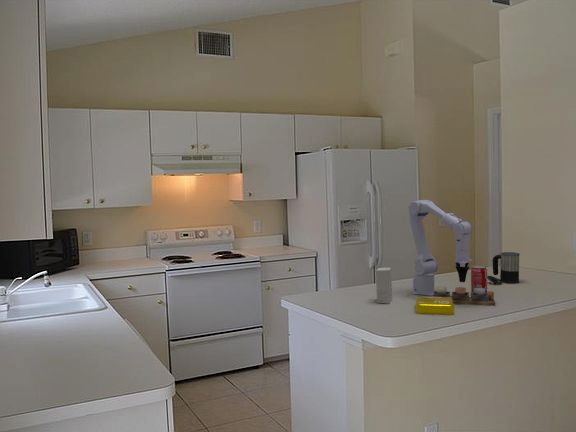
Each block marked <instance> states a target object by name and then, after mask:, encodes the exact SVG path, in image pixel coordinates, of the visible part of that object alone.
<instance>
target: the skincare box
mask: <svg viewBox="0 0 576 432" xmlns="http://www.w3.org/2000/svg"><path fill="white" fill-rule="evenodd" d="M375 278H376V281H375V282H376V303H378V304H387V305H389V304H391V301H392V300H393V289H392V288H393V284H392V282H393V281H392V268H391V267H378V268H377V269H376V270H375Z"/></svg>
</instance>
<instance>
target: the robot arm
mask: <svg viewBox="0 0 576 432" xmlns="http://www.w3.org/2000/svg"><path fill="white" fill-rule="evenodd" d="M407 209H408V212H409V222H410V226H411V227H410V228H411V231H412V235H413V236H412V237H413V239H414V245H415V249H416V252H417V253H416V254H417V257H415V259H414V270H415V273H416V274H414V276H413V279H412V295H420V296H421V295H422V296H428V295H433V294H434V291H435V275H436V273H437V271H438V269H439V264H438V263H437V261H436V259H435V256H434V255H432V253H430V247H429V244H428V240H427V236H426V233H425V232H426V231H425V227H424V224H423V220H424V219H425V218H426V217H427V216H428V215H429V214H431V215H433V216H435V217H436V218H438V219H440V220H441V223H442V224H443V225H444V226H445V227H447V228H448V229H450V230H452V233H453V234H454V239H455V259H454V261H455V268H456V271H457V274H458V280H459V282H460V283H466V279H467V275H468V274H467V273H468V271H469V269H470V266H469V264H470V262H471V263H472V262H473V259H471V258H470V234H471V233H472V231H473V226H472V224H471V223H470V222H469V221H467V220H466V221H464V220H463V219H461V218H458V217H457V216H456V215H455V214H454V213H452V212H449V213H446V212H445V211H444V210H442V209H441V208H440V207H439V206H437V205H436V204H435V203H434V202H433V201H431V200H429V199H420V200H419V199H418V200H412V201H411V202H410V204H409V205H408V208H407Z"/></svg>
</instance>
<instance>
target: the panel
mask: <svg viewBox="0 0 576 432" xmlns="http://www.w3.org/2000/svg"><path fill="white" fill-rule="evenodd" d="M469 293H470V294H469ZM427 297H451V298H452V299H453V304H454V305H465V306H466V305H471V306H489V307H490V306H493V307H495V306H496V301H495V292H494V291H490V290H489V291H487V293H485V296H478V295H474V292H471V291H470V292H469V291H466V295H455V291H452V292H451V291H447V294H436V290H434V294H433V295H427Z"/></svg>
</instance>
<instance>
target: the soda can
mask: <svg viewBox="0 0 576 432" xmlns="http://www.w3.org/2000/svg"><path fill="white" fill-rule="evenodd" d="M487 277H488V269H487V266H486V265H472V266H471V269H470V278H471V279H470V293H471V292H474V288H484V289H485V293H488V278H487Z"/></svg>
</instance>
